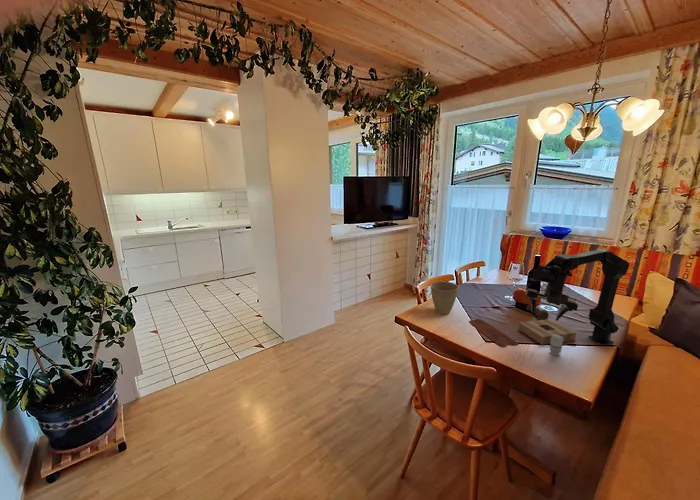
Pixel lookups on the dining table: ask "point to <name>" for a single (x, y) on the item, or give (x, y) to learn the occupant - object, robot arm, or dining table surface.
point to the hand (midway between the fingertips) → (544, 316)
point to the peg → (556, 344)
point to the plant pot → (443, 296)
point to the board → (546, 331)
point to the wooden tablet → (493, 333)
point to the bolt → (538, 312)
